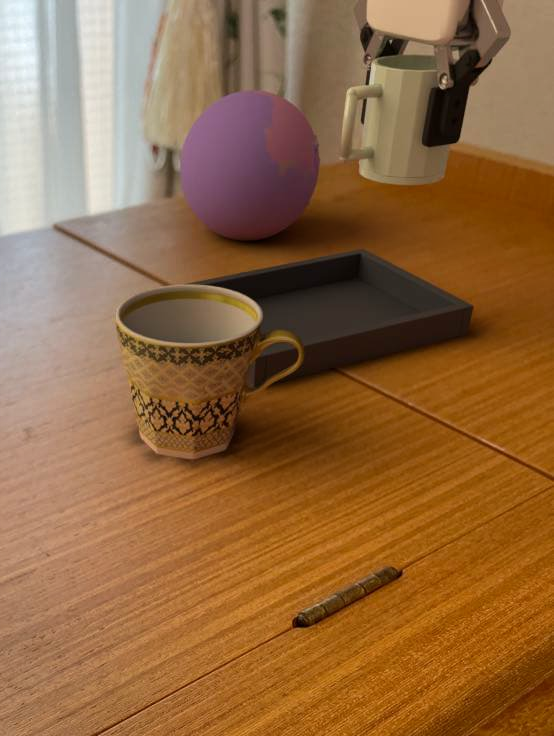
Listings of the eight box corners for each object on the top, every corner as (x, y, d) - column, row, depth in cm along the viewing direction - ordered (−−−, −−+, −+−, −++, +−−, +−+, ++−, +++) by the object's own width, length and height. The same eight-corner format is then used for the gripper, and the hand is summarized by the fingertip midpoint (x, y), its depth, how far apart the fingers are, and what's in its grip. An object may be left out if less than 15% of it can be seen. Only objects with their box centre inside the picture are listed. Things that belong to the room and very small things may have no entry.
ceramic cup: (101, 464, 62) (94, 334, 56) (143, 398, 70) (141, 277, 63) (281, 493, 59) (294, 359, 53) (305, 421, 67) (318, 296, 60)
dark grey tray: (358, 278, 89) (362, 248, 87) (466, 338, 77) (474, 305, 76) (166, 319, 82) (165, 287, 80) (253, 392, 70) (255, 357, 68)
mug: (407, 157, 74) (425, 51, 69) (462, 178, 69) (485, 65, 64) (312, 173, 71) (323, 62, 66) (363, 195, 66) (378, 78, 61)
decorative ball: (320, 260, 93) (337, 107, 84) (179, 261, 93) (180, 108, 84) (304, 215, 105) (317, 76, 95) (179, 216, 105) (180, 78, 96)
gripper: (599, -158, 53) (524, 153, 64) (414, -153, 65) (378, 106, 76) (504, -157, 50) (443, 166, 61) (331, -152, 63) (306, 116, 74)
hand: (408, 131), depth 69 cm, fingers closed on mug, 6 cm apart
